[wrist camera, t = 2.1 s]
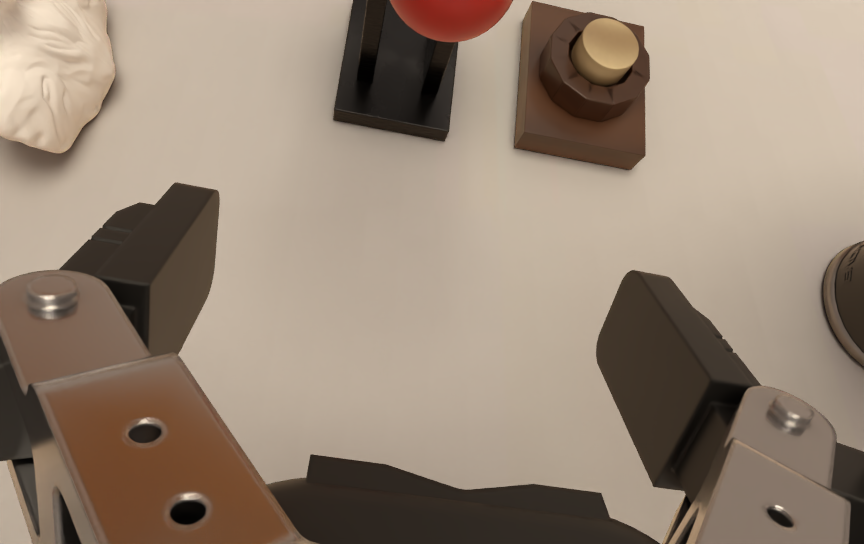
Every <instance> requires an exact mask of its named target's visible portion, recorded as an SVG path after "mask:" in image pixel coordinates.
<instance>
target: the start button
mask: <svg viewBox="0 0 864 544" xmlns="http://www.w3.org/2000/svg"><path fill="white" fill-rule="evenodd" d="M638 53H639V46H638V42H637V39H636V37H635V36H634V34H633V33H632V31H631V30H630V29H629V28H628V27H626V26H625V25H624V24H622V23H620V22H619V21H616V20H613V19H608V18H600V19H596V20H594V21H592V22H590V23H589V24H588V25H587V26H586V27H585V29H584V30H583V32H582V34H581V35H580V37H579V38H578V40H577V41H576V43H575V45H574V46H573V49H572V53H571V58H572V63H573V65H574V68H575V69H576V71H577V72H578V73H579V75H581V76H582V77H583V78H585V79H586V80H587V81H589V82H590V83H593V84H596V85H600V86H609V85H612V84H615V83H617V82H618V81H620V80H621V78H622V77H623V76H624V75H625V74H626V72H627V71H628V70H629V69H630V67H631V66H632V65H633V64H634V62H635V61H636V59H637V57H638Z"/></svg>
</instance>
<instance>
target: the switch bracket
mask: <svg viewBox="0 0 864 544" xmlns="http://www.w3.org/2000/svg"><path fill="white" fill-rule="evenodd" d="M457 48H458V42H442V41H437V40H433V39H430V38H427V37H425V36H423V35H421V34H419V33H417V32H416V31H414V30H413V29H412V28H410V27H409V26H408V25H407V24H406V23H405V22H404V21H403V20H402V19H401V18H400V17H399V15H398V14H397V12H396V11H395V9H394V8H393V6H392V4H391V2H390V0H353V4H352V10H351V16H350V21H349V27H348V33H347V39H346V44H345V50H344V56H343V61H342V67H341V73H340V79H339V84H338V90H337V96H336V101H335V107H334V117H333V119H334V120H337V121H343V122H348V123H353V124H358V125H364V126H369V127H374V128H379V129H384V130H390V131H395V132H400V133H405V134H411V135H416V136H421V137H426V138H432V139H437V140H442V141H445V139H446V137H447V134H448V132H449V125H450V115H451V106H452V96H453V86H454V77H455V67H456V58H457Z"/></svg>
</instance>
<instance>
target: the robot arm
mask: <svg viewBox="0 0 864 544" xmlns="http://www.w3.org/2000/svg"><path fill="white" fill-rule="evenodd" d="M218 216H219V192H218V191H217V190H213V189H208V188H202V187H197V186H192V185H187V184H181V183H174V184H173V185H172V186H171V187H170V188H169V190H168V191H167V192H166V193H165V194H164V195H163V196H162V198H161V199H160V200H159V201H158V202H157V203H156V204H155V205H151V204H146V203H137V204H135V205H132V206H130V207H127V208H125V209H122V210H120V211H117V212H116V213H115V214H114V215H113V216H112V217H111V218H110V219H109V220H108V221H107V222H106V223H105V224H104V225H103V228H100V229H99V230H98V231H97V232H96V233H95V234H94V235H93V236H92V238H91V240H88V241H87V242H86V243H85V244H84V245H83V246H82V247H81V248H80V249H79V250H78V251H77V252H76V253H75V254H74V255H73V256H72V257H71V258H70V259H69V260H68V261H67V262H66V263H65V264H64V265H63V266H62V267H61V268H60V269H59V270H46V271H37V272H31V273H27V274H23V275H19V276H17V277H14V278H11V279H9V280H7V281H5V282H3V283H2V284H0V461H5V460H7V465H8V469H9V472H10V475H11V478H12V481H13V484H14V487H15V490H16V493H17V496H18V499H19V502H20V506H21V509H22V512H23V515H24V518H25V521H26V524H27V527H28V530H29V533H30V536H31V539H32V543H33V544H660V543H658V542H657V541H655V540H654V539H652V538H651V537H649V536H648V535H646V534H644V533H642V532H640V531H638V530H637V529H635V528H633V527H631V526H628V525H626V524H624V523H622V522H619V521H617V520H615V519H612V518H610V517H609V514H608V511H607V508H606V506H605V503H604V500H603V497H602V494H601V493H596V492H589V491H581V490H574V489H566V488H559V487H551V486H544V485H536V484H529V485H518V486H507V487H496V488H484V489H473V490H463V489H458V488H454V487H451V486H448V485H445V484H442V483H439V482H436V481H433V480H430V479H427V478H424V477H421V476H418V475H415V474H413V473H410V472H407V471H404V470H401V469H398V468H395V467H392V466H389V465H386V464H378V463H371V462H363V461H356V460H348V459H341V458H333V457H326V456H318V455H310V460H309V466H308V471H307V476H306V478H299V479H291V480H286V481H280V482H275V483H271V484H268V485H266V484H265V482H264V481H263V479H262V478H261V476H260V475H259V473H258V472H257V470H256V469H255V467H254V466H253V465H252V463H251V462H250V460H249V459H248V457H247V456H246V454H245V453H244V451H243V450H242V448H241V447H240V445H239V444H238V442H237V441H236V439H235V438H234V436H233V435H232V433H231V432H230V430H229V429H228V427H227V426H226V425H225V423H224V422H223V420H222V419H221V417H220V416H219V414H218V413H217V411H216V410H215V408H214V407H213V405H212V404H211V402H210V401H209V399H208V398H207V396H206V395H205V393H204V392H203V390H202V389H201V387H200V386H199V385H198V383H197V382H196V380H195V379H194V377H193V376H192V374H191V373H190V371H189V370H188V368H187V367H186V365H185V364H184V362H183V361H182V360H181V358H180V357H179V356H178V354H179V352H180V350H181V348H182V346H183V344H184V342H185V340H186V338H187V336H188V334H189V332H190V330H191V328H192V327H193V325H194V323H195V321H196V319H197V317H198V315H199V313H200V311H201V309H202V307H203V305H204V303H205V301H206V299H207V297H208V294H209V291H210V288H211V284H212V280H213V274H214V267H215V255H216V242H217V229H218ZM823 295H824V304H825V309H826V313H827V316H828V319H829V322H830V324H831V327H832V329H833V331H834V333H835V334H836V336H837V338H838V339H839V341H840V342H841V344H842V345H843V346H844V348H845V349H846V350H847V351H848V352H849V354H850V355H851V356H852V357H853V358H854V359H855V360H857V361H858V362H859V363H860V364H861V365H863V366H864V241H862V242H859V243H857V244H854V245H852V246H850V247H847V248H846V249H844V250H842V251H841V252H840V253H839V254H837V255H836V257H835V258H834V259H833V260H832V262H831V263H830V265H829V267H828V269H827V272H826V275H825V280H824V288H823ZM732 351H733V349H732V348H731V347H730V345H729V344H728V343H727V341H726V340H725V339H722V335H721V334H720V333H719V331H718V330H717V329H716V328H715V326H714V325H713V324H712V322H711V321H710V320H709V319H707V318H706V317H705V316H704V315H702V314H701V313H700V312H698V311H697V310H696V309H694V308H693V307H692V305H691V304H690V303H689V301H688V300H687V299H686V298H685V296H684V295H683V294H682V292H681V291H680V290H679V289H678V287H677V286H676V285H675V283H674V282H673V281H672V280H671V279H670V278H669V277H666V276H661V275H656V274H651V273H645V272H640V271H635V270H632V271H630V272H628V273H627V274H626V275H625V277H624V278H623V280H622V282H621V284H620V287H619V289H618V291H617V294H616V296H615V298H614V301H613V303H612V306H611V308H610V310H609V313H608V315H607V317H606V320H605V322H604V324H603V327H602V329H601V332H600V334H599V337H598V341H597V348H596V357H597V363H598V365H599V368H600V370H601V372H602V374H603V377H604V379H605V381H606V383H607V385H608V388H609V390H610V392H611V394H612V396H613V398H614V401H615V403H616V405H617V407H618V409H619V412H620V414H621V416H622V418H623V420H624V423H625V425H626V427H627V429H628V431H629V434H630V436H631V438H632V440H633V442H634V445H635V447H636V449H637V451H638V453H639V456H640V458H641V460H642V462H643V464H644V467H645V469H646V471H647V473H648V475H649V478H650V480H651V482H652V484H653V486H654V487H659V488H666V489H673V490H681V491H685V493H686V495H685V497H684V498H683V500H682V502H681V503H680V505H679V507H678V509H677V510H676V513H675V515H674V517H673V519H672V522H671V524H670V526H669V529H668V531H667V533H666V535H665V538H664V540H663V542H662V544H864V452H862V451H860V450H857V449H854V448H851V447H848V446H846V445H843V444H840V443H837V442H836V433H835V430H834V428H833V427H832V425H831V424H830V422H829V421H828V420H827V419H826V418H825V417H824V416H823V415H822V414H821V413H820V412H818V411H817V410H816V409H815V408H813V407H812V406H811V405H809V404H808V403H806V402H804V401H803V400H801V399H799V398H797V397H795V396H793V395H791V394H789V393H787V392H784V391H781V390H779V389H775V388H772V387H766V386H761V385H760V383H759V382H758V381H757V379H756V378H755V377H754V376H753V374H752V373H751V372H750V371H749V369H748V368H747V367H746V366H745V364H744V363H743V362H742V360H741V359H740V358H739V357H738V355H737V354H736V353H733V352H732Z"/></svg>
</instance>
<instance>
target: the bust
mask: <svg viewBox="0 0 864 544" xmlns="http://www.w3.org/2000/svg"><path fill="white" fill-rule="evenodd" d="M106 21H107V6H106V3H105V0H0V136H2V137H4V138H6V139H8V140H12V141H18V142H22V143H23V144H25V145H28V146H30V147H35V148H38V149H41V150H45V151H48V152H53V153H63V152H65V151H67V150H68V149H69V148H70V147H71V146H72V144H73V142H74V140H75V139H76V137H77V136H78V134H79V132H80V131H81V129H82V127H83V126H84V125H85V124H86V123H88V122H89V121H90V120H91V119H93V118H94V117H95V116H96V115H97V114H98V113H99V111H100V108H101V104H102V101H103V99H104V98H105V96H106V94H107V93H108V91H109V88H110V86H111V84H112V82H113V80H114V78H115V64H114V62H113V57H112V56H113V55H112V48H111V43H110V40H109V37H108V35H107V31H106V28H107V25H106Z"/></svg>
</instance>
